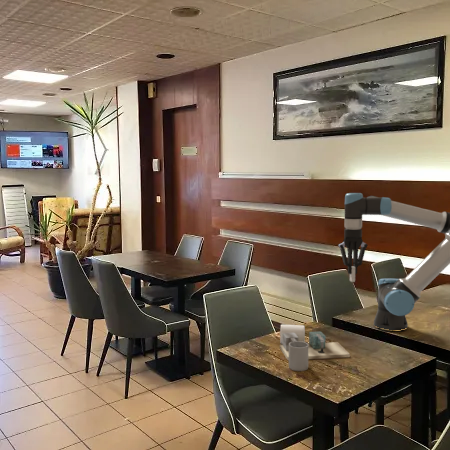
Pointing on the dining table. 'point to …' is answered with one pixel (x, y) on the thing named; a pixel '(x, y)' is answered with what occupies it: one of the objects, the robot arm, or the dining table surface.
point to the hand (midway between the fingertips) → (352, 281)
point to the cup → (298, 356)
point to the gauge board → (328, 352)
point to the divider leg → (317, 340)
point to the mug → (293, 331)
